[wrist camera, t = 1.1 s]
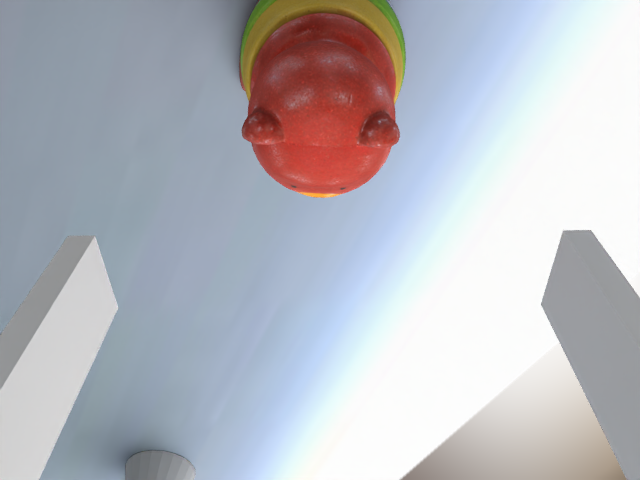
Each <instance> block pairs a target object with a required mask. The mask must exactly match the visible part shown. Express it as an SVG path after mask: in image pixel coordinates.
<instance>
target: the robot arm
mask: <svg viewBox="0 0 640 480" xmlns="http://www.w3.org/2000/svg"><path fill="white" fill-rule="evenodd" d="M541 305H542V307H543V309H544V311H545V313H546V315H547V318H548V320H549V322H550V324H551V326H552V328H553V330H554V332H555V334H556V336H557V338H558V340H559V342H560V344H561V346H562V348H563V350H564V352H565V354H566V356H567V358H568V360H569V362H570V364H571V366H572V368H573V371H574V373H575V375H576V376H577V379H578V381H579V383H580V385H581V387H582V389H583V391H584V393H585V395H586V397H587V399H588V401H589V403H590V405H591V407H592V409H593V411H594V413H595V416H596V418H597V420H598V422H599V424H600V426H601V428H602V430H603V432H604V434H605V436H606V438H607V440H608V442H609V444H610V446H611V448H612V450H613V452H614V454H615V456H616V458H617V460H618V462H619V465H620V466H621V468H622V471H623V473H624V475H625V476H626V479H627V480H640V298H639V296H638V295H637V294H636V292H635V291H634V289H633V288H632V286H631V285H630V284H629V282H628V281H627V280H626V278H625V277H624V275H623V274H622V273H621V271H620V270H619V268H618V267H617V266H616V264H615V263H614V262H613V260H612V259H611V257H610V256H609V255H608V253H607V252H606V250H605V249H604V248H603V246H602V245H601V244H600V242H599V241H598V239H597V238H596V237H595V235H594V234H593V233H592V231H591V230H573V231H563V233H562V236H561V240H560V243H559V246H558V250H557V253H556V256H555V260H554V263H553V266H552V269H551V273H550V276H549V279H548V283H547V286H546V289H545V293H544V296H543V299H542V303H541ZM117 310H118V306H117V302H116V299H115V296H114V293H113V290H112V287H111V284H110V281H109V278H108V274H107V271H106V268H105V265H104V262H103V259H102V256H101V253H100V250H99V246H98V243H97V240H96V237H95V236H68V237H67V238H66V240H65V241H64V243H63V244H62V246H61V247H60V248H59V250H58V251H57V253H56V254H55V256H54V257H53V259H52V260H51V262H50V263H49V265H48V266H47V267H46V269H45V270H44V272H43V273H42V275H41V276H40V278H39V279H38V281H37V282H36V284H35V285H34V286H33V288H32V289H31V291H30V292H29V294H28V295H27V297H26V298H25V300H24V301H23V303H22V304H21V305H20V307H19V308H18V310H17V311H16V313H15V314H14V316H13V317H12V319H11V320H10V322H9V323H8V324H7V326H6V327H5V329H4V330H3V332H2V333H1V335H0V480H39V479H40V476H41V474H42V472H43V470H44V468H45V466H46V463H47V461H48V459H49V457H50V455H51V453H52V450H53V448H54V446H55V444H56V442H57V440H58V437H59V435H60V433H61V431H62V429H63V427H64V424H65V422H66V420H67V418H68V416H69V414H70V411H71V409H72V407H73V405H74V403H75V401H76V398H77V396H78V394H79V392H80V390H81V388H82V385H83V383H84V381H85V379H86V377H87V375H88V372H89V370H90V368H91V366H92V364H93V362H94V359H95V357H96V355H97V353H98V351H99V349H100V346H101V344H102V342H103V340H104V338H105V336H106V333H107V331H108V329H109V327H110V325H111V323H112V320H113V318H114V316H115V314H116V312H117Z"/></svg>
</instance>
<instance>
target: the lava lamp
mask: <svg viewBox="0 0 640 480" xmlns="http://www.w3.org/2000/svg"><path fill="white" fill-rule="evenodd" d="M195 476H196V474H195V468H194V467H193V465H192V464H191V463H190V462H189V461H188V460H186V459H185V458H183V457H181V456H179V455H177V454H174V453H170V452H166V451H155V450H151V451H144V452H140V453H137V454H135V455H133V456H131V457H130V458H129V459H128V460H127V463H126V465H125V480H194V478H195Z"/></svg>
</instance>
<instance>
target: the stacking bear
mask: <svg viewBox="0 0 640 480" xmlns="http://www.w3.org/2000/svg"><path fill="white" fill-rule="evenodd" d="M405 60H406V56H405V42H404V37H403V33H402V29H401V26H400V24H399V21H398V19H397V17H396V15H395V13H394V11H393V9H392V8H391V6H390V5H389V3H388V2H387V0H258V2H257V4H256V6H255V8H254V10H253V12H252V13H251V15H250V17H249V20H248V22H247V24H246V27H245V31H244V34H243V38H242V44H241V53H240V63H239V70H240V82H241V86H242V88H243V90H244V91H246V94H247V97H248V100H249V106H248V117H247V119H246V120H245V122H244V124H243V127H242V136H243V138H244V139H246V140H248V141H250V142H251V143H252V147H253V150H254V152H255V154H256V157H257V159H258V160H259V162H260V164H261V165H262V167H263V168H264V169H265V171H266V172H267V173H268V174H269V175H270V176H271V177H272V178H273V179H275V180H276V181H277V182H279V183H280V184H282V185H283V186H285V187H286V188H288V189H290V190H293V191H296V192H298V193H301V194H304V195H307V196H311V197H333V196H337V195H340V194H342V193H346V192H349V191H351V190H354V189H356V188H358V187H360V186H361V185H363V184H365V183H366V182H367V181H369V180H370V179H371V178H372V177H373V176H374V175H375V174H376V173H377V172H378V171H379V169H380V168H381V167H382V166H383V164H384V163H385V162H386V159H387V157H388V155H389V153H390V150H391V147H392V146H393V145H394V144H396V143H397V142H398V140H399V137H400V132H399V129H398V126H397V124H396V123H395V106H394V105H395V102H396V100H397V97H398V94H399V92H400V89H401V86H402V82H403V78H404V72H405Z"/></svg>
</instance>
